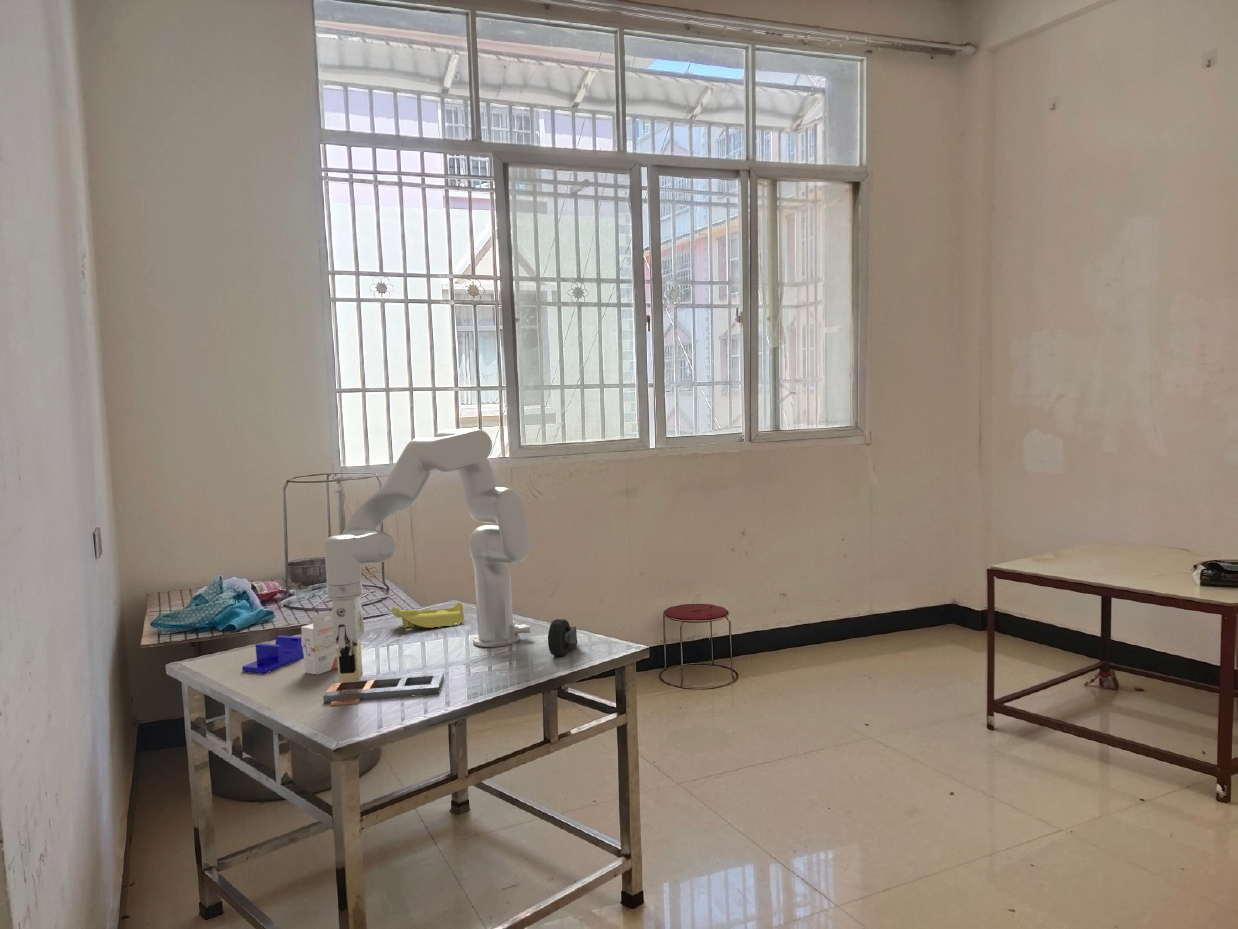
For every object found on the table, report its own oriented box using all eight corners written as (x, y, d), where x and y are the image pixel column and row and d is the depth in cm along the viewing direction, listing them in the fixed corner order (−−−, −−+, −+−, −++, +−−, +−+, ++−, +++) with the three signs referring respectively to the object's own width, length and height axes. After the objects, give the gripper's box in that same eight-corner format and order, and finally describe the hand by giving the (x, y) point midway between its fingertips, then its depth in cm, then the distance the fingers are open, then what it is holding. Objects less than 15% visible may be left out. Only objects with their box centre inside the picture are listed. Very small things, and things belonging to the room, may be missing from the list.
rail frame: (444, 678, 198) (443, 671, 198) (437, 697, 185) (437, 690, 185) (335, 686, 195) (335, 679, 195) (321, 706, 183) (320, 699, 182)
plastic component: (454, 608, 257) (462, 600, 249) (456, 632, 254) (465, 624, 246) (388, 613, 248) (394, 605, 240) (390, 638, 246) (396, 630, 237)
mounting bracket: (294, 652, 227) (292, 630, 226) (315, 654, 224) (313, 632, 224) (242, 673, 210) (240, 650, 210) (265, 675, 207) (263, 652, 207)
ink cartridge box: (332, 663, 214) (328, 606, 213) (345, 665, 212) (341, 608, 210) (303, 673, 207) (299, 614, 206) (316, 675, 204) (312, 616, 203)
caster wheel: (565, 664, 207) (584, 641, 222) (562, 627, 206) (581, 606, 220) (544, 663, 209) (564, 640, 223) (541, 626, 207) (561, 605, 222)
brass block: (362, 675, 192) (360, 640, 192) (358, 681, 188) (356, 646, 188) (343, 676, 192) (340, 642, 191) (338, 682, 188) (336, 647, 187)
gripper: (353, 597, 181) (359, 680, 182) (369, 581, 197) (374, 657, 199) (318, 599, 180) (323, 682, 181) (336, 583, 197) (341, 659, 198)
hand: (350, 668), depth 190 cm, fingers closed on brass block, 4 cm apart
